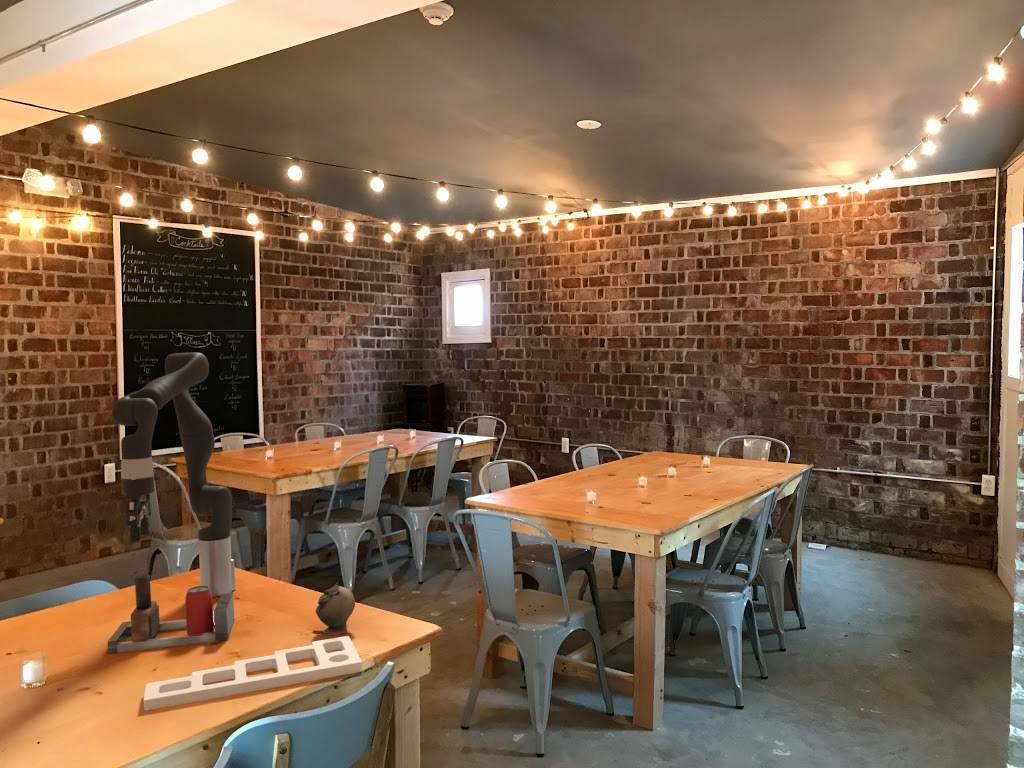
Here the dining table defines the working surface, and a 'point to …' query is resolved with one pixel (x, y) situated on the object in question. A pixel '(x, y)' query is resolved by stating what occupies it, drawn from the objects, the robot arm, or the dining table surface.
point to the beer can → (199, 610)
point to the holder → (196, 691)
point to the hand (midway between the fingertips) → (139, 538)
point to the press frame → (221, 619)
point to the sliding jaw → (144, 611)
